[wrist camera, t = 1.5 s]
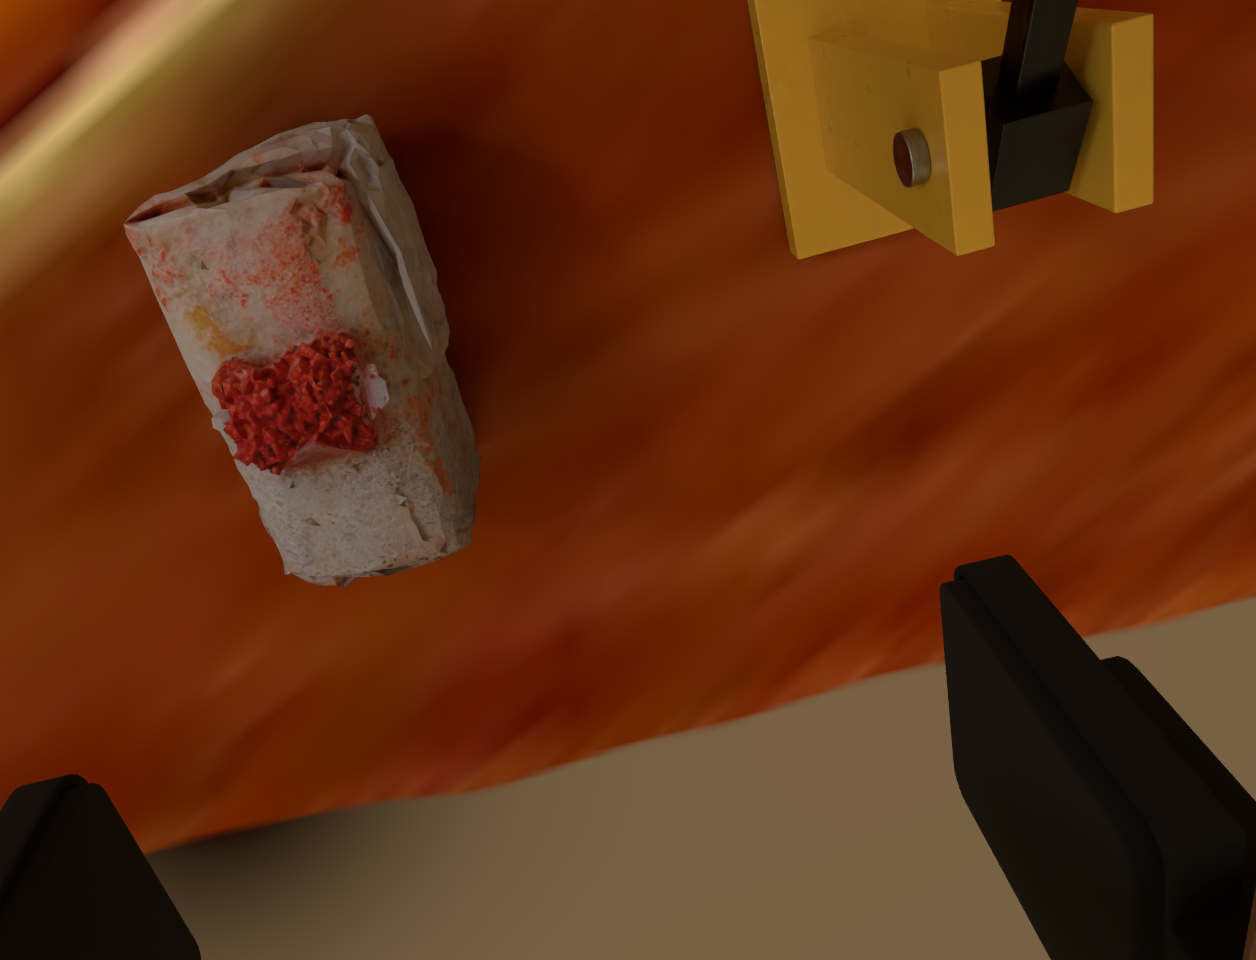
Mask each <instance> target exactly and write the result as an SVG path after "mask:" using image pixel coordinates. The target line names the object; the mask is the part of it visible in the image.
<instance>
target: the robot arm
mask: <svg viewBox="0 0 1256 960" xmlns="http://www.w3.org/2000/svg"><path fill="white" fill-rule="evenodd" d="M940 604H941V616H942V628H943V640H944V652H945V664H946V676H947V688H948V700H949V713H950V724H951V737H952V749H953V761H954V769H955V774H956V778H957V782H958V785H959V788H960V791H961V793H962V796H963V798H964V800H965V802H966V804H967V806H968V807H969V809H970V811H971V813H972V815H973V817H974V819H975V820H976V822H977V824H978V826H979V828H980V830H981V831H982V833H983V835H984V837H985V839H986V841H987V842H988V844H989V846H990V848H991V850H992V852H993V854H994V856H995V857H996V859H997V861H998V863H999V865H1000V867H1001V868H1002V870H1003V872H1004V874H1005V876H1006V878H1007V880H1008V881H1009V883H1010V885H1011V887H1012V889H1013V891H1014V892H1015V894H1016V896H1017V898H1018V900H1019V902H1020V904H1021V905H1022V907H1023V909H1024V911H1025V913H1026V914H1027V916H1028V918H1029V920H1030V922H1031V924H1032V925H1033V928H1034V929H1035V931H1036V933H1037V935H1038V937H1039V939H1040V940H1041V942H1042V944H1043V946H1044V948H1045V949H1046V952H1047V953H1048V955H1049V957H1050V959H1051V960H1256V801H1255V800H1254V799H1253V798H1252V797H1251V796H1250V794H1249V793H1248V792H1247V791H1246V790H1245V789H1244V788H1243V787H1242V786H1241V784H1240V783H1239V782H1238V781H1237V780H1236V779H1235V778H1234V777H1233V775H1232V774H1231V773H1230V772H1229V771H1228V770H1227V769H1226V768H1225V766H1224V765H1223V764H1222V763H1221V762H1220V761H1219V760H1218V758H1217V757H1216V756H1215V755H1214V754H1213V753H1212V752H1211V751H1210V750H1209V748H1208V747H1207V746H1206V745H1205V744H1204V743H1203V742H1202V740H1201V739H1200V738H1199V737H1198V736H1197V735H1196V734H1195V733H1194V732H1193V731H1192V729H1191V728H1190V727H1189V726H1188V725H1187V724H1186V722H1185V721H1184V720H1183V719H1182V718H1181V717H1180V716H1179V715H1178V714H1177V712H1176V711H1175V710H1174V709H1173V708H1172V707H1171V706H1170V704H1169V703H1168V702H1167V701H1166V700H1165V699H1164V698H1163V697H1162V695H1161V694H1160V693H1159V692H1158V691H1157V690H1156V689H1155V688H1154V686H1153V685H1152V684H1151V683H1150V682H1149V681H1148V680H1147V679H1146V678H1145V676H1144V675H1143V674H1142V673H1141V672H1140V671H1139V670H1138V669H1137V668H1136V667H1135V666H1134V665H1133V664H1132V663H1131V662H1130V661H1128V660H1127V659H1125V658H1122V657H1119V656H1116V657H1112V658H1107V659H1103V660H1100V659H1099V658H1098V657H1097V656H1096V654H1095V653H1094V652H1093V651H1092V650H1091V649H1090V648H1089V646H1088V645H1087V644H1086V643H1085V641H1084V640H1083V639H1082V638H1081V637H1080V635H1079V634H1078V633H1077V632H1076V631H1075V630H1074V628H1073V627H1072V626H1071V625H1070V624H1069V622H1068V621H1067V620H1066V619H1065V618H1064V617H1063V615H1062V614H1061V613H1060V612H1059V611H1058V609H1057V608H1056V607H1055V606H1054V605H1053V604H1052V602H1051V601H1050V600H1049V599H1048V598H1047V596H1046V595H1045V594H1044V593H1043V592H1042V591H1041V589H1040V588H1039V587H1038V586H1037V585H1036V583H1035V582H1034V581H1033V580H1032V579H1031V578H1030V576H1029V575H1028V574H1027V573H1026V572H1025V570H1024V569H1023V568H1022V567H1021V566H1020V565H1019V563H1018V562H1017V561H1016V560H1015V559H1014V558H1013V557H1012V556H1010V555H1003V556H999V557H995V558H990V559H986V560H982V561H978V562H973V563H969V564H965V565H960V566H958V567H957V568H956V569H955V572H954V581H951V582H947V583H943V584H942V585H941V587H940ZM0 960H201V955H200V951H199V947H198V945H197V943H196V941H195V939H194V937H193V936H192V934H191V932H190V931H189V929H188V927H187V926H186V924H185V923H184V921H183V919H182V917H181V916H180V914H179V913H178V911H177V909H176V908H175V906H174V904H173V903H172V901H171V899H170V898H169V896H168V894H167V893H166V891H165V889H164V888H163V886H162V884H161V883H160V881H159V879H158V878H157V876H156V875H155V873H154V871H153V870H152V868H151V866H150V864H149V863H148V861H147V860H146V858H145V856H144V854H143V853H142V851H141V850H140V848H139V846H138V845H137V843H136V841H135V840H134V838H133V836H132V835H131V833H130V831H129V830H128V828H127V826H126V825H125V823H124V821H123V820H122V818H121V816H120V815H119V813H118V811H117V810H116V808H115V806H114V805H113V803H112V801H111V800H110V798H109V797H108V795H107V793H106V792H105V790H104V789H103V788H102V787H101V786H100V785H98V784H96V783H90V784H88V783H87V781H86V780H85V779H84V778H82V777H81V776H79V775H72V774H70V775H66V776H61V777H57V778H53V779H49V780H44V781H40V782H36V783H32V784H27V785H23V786H21V787H19V788H17V789H15V790H14V792H13V793H12V794H11V795H10V796H9V798H8V800H7V801H6V803H5V805H4V806H3V808H2V810H1V811H0Z"/></svg>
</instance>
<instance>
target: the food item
mask: <svg viewBox="0 0 1256 960" xmlns="http://www.w3.org/2000/svg"><path fill="white" fill-rule="evenodd" d="M124 228H125V232H126V235H127V237H128V239H129V241H130V243H131V245H132V247H133V249H134V250H135V251H136V253H137V254H138V255H139V258H140V260H141V262H142V265H143V267H144V269H145V272H146V274H147V276H148V279H149V281H150V283H151V286H152V288H153V291H154V293H155V296H156V298H157V300H158V302H159V304H160V307H161V309H162V311H163V313H164V316H165V318H166V320H167V322H168V325H169V327H170V329H171V331H172V334H173V336H174V338H175V340H176V343H177V345H178V347H179V349H180V352H181V354H182V356H183V358H184V361H185V363H186V365H187V367H188V369H189V371H190V373H191V375H192V377H193V379H194V381H195V383H196V385H197V387H198V389H199V391H200V394H201V396H202V398H203V400H204V402H205V404H206V405H207V407H208V408H209V410H210V411H211V413H212V414H213V417H212V418H211V420H212V424H213V428H214V429H216V430H219V431H220V433H221V434H222V436H223V437H224V439H225V440H226V442H227V444H228V446H229V450H230V452H231V454H232V456H233V457H232V458H233V459H234V460H235V463H236V466H237V468H238V470H239V472H240V473H241V475H242V477H243V478H244V480H245V481H246V483H247V484H248V486H249V488H250V490H251V493H252V496H253V498H254V499H256V500H257V502H258V504H259V515H260V517H261V519H262V522H263V524H264V526H265V529H266V531H267V532H268V533H269V534H270V535H271V536H272V538H273V539H274V541H275V543H276V545H277V547H278V549H279V551H280V554H281V556H282V559H283V562H284V569H285V575H286V574H290V573H292V574H294V575H296V576H298V577H300V578H301V579H303V580H304V581H306V582H309V583H314V584H319V585H323V586H341V587H346V586H347V584H348V583H349V582H350V581H352V580H353V579H354V578H355V577H371V576H378V575H390V574H394V573H398V572H402V571H405V570H408V569H411V568H414V567H418V566H421V565H425V564H428V563H432V562H434V561H437V560H440V559H443V558H445V557H448V556H450V555H452V554H454V553H456V552H458V551H460V550H462V549H464V548H465V547H466V546H467V545H469V544H470V543H471V542H472V525H473V524H474V521H475V507H476V490H477V487H478V484H479V481H480V469H479V462H480V460H481V456H480V454H479V452H478V450H477V448H476V446H475V433H474V431H473V426H472V423H471V421H470V418H469V416H468V413H467V411H466V409H465V406H464V404H463V401H462V399H461V395H460V391H459V388H458V385H457V382H456V378H455V374H454V372H453V370H452V369H451V367H450V366H449V364H448V362H447V359H446V356H445V351H446V349H447V347H448V345H449V344H448V338H449V335H450V330H449V326H448V322H447V319H446V315H445V307H444V303H443V301H442V296H441V295H440V293H439V291H438V287H437V271H436V269H435V266H434V264H433V262H432V259H431V257H430V254H429V252H428V249H427V246H426V244H425V241H424V237H423V234H422V231H421V228H420V225H419V222H418V218H417V215H416V212H415V208H414V205H413V202H412V200H411V198H410V197H409V195H408V193H407V191H406V189H405V188H404V186H403V184H402V182H401V180H400V178H399V176H398V173H397V171H396V169H395V164H394V161H393V159H391V157H390V155H389V154H388V152H387V150H386V147H385V145H384V142H383V140H382V139H381V138H380V135H379V131H378V129H377V127H376V125H375V123H374V121H373V119H372V117H370V116H368V115H366V114H365V115H363V116H361V117H359V118H357V119H355V120H352V119H342V120H338V121H331V122H327V123H326V122H313V123H310V124H307V125H304V126H301V127H298V128H295V129H292V130H289V131H286V132H283V133H280V134H277V135H275V136H273V137H271V138H269V139H267V140H266V141H264V142H262V143H260V144H258V145H256V146H254V147H253V148H250V149H248V150H246V151H243V152H241V153H238V154H237V155H235V156H234V157H233V158H231V159H230V160H228V161H227V162H226V163H225V164H223V165H222V166H220V167H219V168H217V169H216V170H214V171H213V172H211V173H209V174H208V175H206V176H205V177H203V178H201V179H199V180H197V181H194V182H192V183H189V184H187V185H185V186H182V187H180V188H177V189H175V190H173V191H170V192H167V193H161V194H156V195H154V196H153V197H151V198H150V199H148V200H147V201H146V202H144V203H143V204H142V205H141V206H140V207H138V208H137V209H136V210H135V211H134V212H133V214H132V215H131V216H130V217H129V218H128V219H127V220H126V222H125V223H124Z"/></svg>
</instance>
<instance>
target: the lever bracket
mask: <svg viewBox="0 0 1256 960" xmlns="http://www.w3.org/2000/svg"><path fill="white" fill-rule="evenodd" d="M747 1H748V7H749V13H750V19H751V25H752V31H753V36H754V42H755V48H756V54H757V60H758V66H759V72H760V78H761V83H762V89H763V95H764V101H765V107H766V113H767V119H768V125H769V130H770V136H771V142H772V148H773V154H774V160H775V166H776V171H777V177H778V183H779V189H780V195H781V201H782V207H783V213H784V218H785V224H786V230H787V236H788V242H789V248H790V252H791V253H792V254H793V255H794V256H795V257H796V258H797V259H803V258H806V257H810V256H814V255H818V254H821V253H825V252H829V251H833V250H836V249H840V248H844V247H847V246H851V245H855V244H859V243H862V242H866V241H870V240H874V239H877V238H881V237H885V236H888V235H892V234H896V233H900V232H903V231H907V230H911V229H916V230H918V231H920V232H921V233H923V234H924V235H926V236H927V237H929V238H930V239H932V240H933V241H935V242H936V243H938V244H939V245H941V246H942V247H944V248H945V249H947V250H948V251H950V252H952V253H953V254H955V255H956V256H959V255H963V254H967V253H971V252H974V251H978V250H982V249H985V248H989V247H993V246H995V239H994V225H993V212H992V198H991V185H990V172H989V158H988V145H987V132H986V118H985V105H984V91H983V78H982V65H981V61H982V60H986V59H989V58H993V57H997V56H1000V55H1002V52H1003V47H1004V41H1005V35H1006V30H1007V24H1008V18H1009V13H1010V7H1011V2H1001V0H747ZM1064 61H1065V63H1066V64H1067V66H1068V67H1069V68H1070V70H1071V71H1072V72H1073V74H1074V75H1075V76H1076V78H1077V79H1078V81H1079V82H1080V83H1081V85H1082V86H1083V87H1084V89H1085V90H1086V92H1087V93H1088V94H1089V96H1090V97H1091V98H1092V100H1093V105H1092V109H1091V113H1090V116H1089V120H1088V124H1087V127H1086V131H1085V134H1084V138H1083V142H1082V145H1081V149H1080V153H1079V156H1078V160H1077V164H1076V167H1075V171H1074V174H1073V178H1072V182H1071V185H1070V189H1069V190H1068V191H1066V192H1065V193H1068V194H1070V195H1073V196H1075V197H1077V198H1080V199H1082V200H1085V201H1087V202H1089V203H1092V204H1094V205H1097V206H1099V207H1102V208H1104V209H1106V210H1109V211H1111V212H1114V213H1119V212H1123V211H1127V210H1131V209H1134V208H1138V207H1142V206H1145V205H1149V204H1152V203H1153V202H1154V41H1153V14H1151V13H1139V12H1127V11H1114V10H1102V9H1089V8H1076V12H1075V17H1074V21H1073V25H1072V29H1071V34H1070V38H1069V42H1068V46H1067V50H1066V55H1065V59H1064Z"/></svg>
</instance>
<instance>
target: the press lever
mask: <svg viewBox="0 0 1256 960" xmlns="http://www.w3.org/2000/svg"><path fill="white" fill-rule="evenodd" d="M1077 4H1078V0H1012V1H1011V7H1010V13H1009V18H1008V24H1007V30H1006V35H1005V41H1004V47H1003V52H1002V55H1000V56H997V57H993V58H989V59H986V60H982V61H981V65H982V78H983V91H984V105H985V118H986V132H987V145H988V158H989V172H990V185H991V198H992V211H995V210H999V209H1003V208H1006V207H1010V206H1014V205H1018V204H1021V203H1025V202H1029V201H1033V200H1036V199H1040V198H1044V197H1047V196H1051V195H1055V194H1059V193H1062V192H1066V191H1068V190H1069V189H1070V185H1071V182H1072V178H1073V174H1074V171H1075V167H1076V164H1077V160H1078V156H1079V153H1080V149H1081V145H1082V142H1083V138H1084V134H1085V131H1086V127H1087V124H1088V120H1089V116H1090V113H1091V109H1092V105H1093V100H1092V98H1091V97H1090V96H1089V94H1088V93H1087V92H1086V90H1085V89H1084V87H1083V86H1082V85H1081V83H1080V82H1079V81H1078V79H1077V78H1076V76H1075V75H1074V74H1073V72H1072V71H1071V70H1070V68H1069V67H1068V66H1067V64H1066V63H1065V61H1064V59H1065V55H1066V50H1067V46H1068V42H1069V38H1070V34H1071V29H1072V25H1073V21H1074V17H1075V12H1076V8H1077Z"/></svg>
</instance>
